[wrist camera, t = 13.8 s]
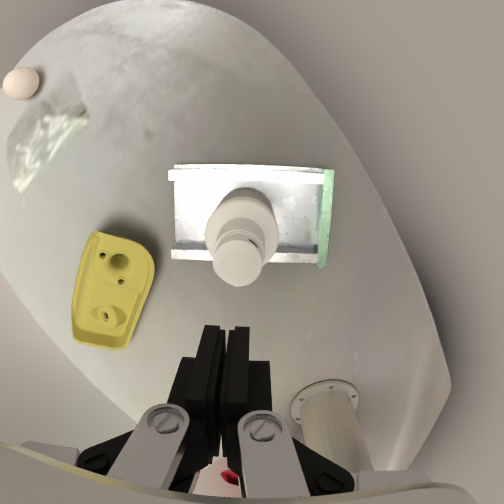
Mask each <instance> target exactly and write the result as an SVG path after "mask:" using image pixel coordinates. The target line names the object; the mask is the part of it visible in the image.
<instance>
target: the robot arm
mask: <svg viewBox="0 0 504 504" xmlns="http://www.w3.org/2000/svg"><path fill="white" fill-rule="evenodd" d="M249 333H250V327H238V326H235V330H229V336H228V343H227V350H226V340H225V330H220V326H215V325H205V326H204V330H203V333H202V337H201V340H200V344H199V347H198V351H197V355H196V358H192V357H182V359H181V362H180V365H179V368H178V371H177V374H176V377H175V380H174V383H173V386H172V389H171V392H170V395H169V398H168V401H167V403H166V404H158V405H155V406H153V407H151V408H149V409H148V410H147V411H146V412H145V413H144V414H143V416H142V418H141V419H140V421H139V423H138V424H137V426H136V428H135V429H134V430H132V431H130V432H127V433H125V434H123V435H120V436H118V437H115V438H113V439H110V440H108V441H106V442H103V443H101V444H98V445H95V446H93V447H90V448H88V449H86V450H84V451H83V452H82V451H79V450H78V449H77V448H71V447H63V446H56V445H50V444H44V443H38V442H30V441H29V442H25V443H22V444H21V445H20V446H17V445H13V444H9V443H2V442H0V504H477V502H476V501H475V499H474V498H473V496H472V495H471V494H470V493H469V492H468V491H467V490H465V489H464V488H462V487H460V486H457V485H453V484H448V483H439V482H431V480H430V478H429V477H428V475H427V474H425V473H424V472H421V471H419V470H401V471H374V470H373V466H372V463H371V460H370V457H369V454H368V450H367V447H366V444H365V441H364V438H363V435H362V432H361V429H360V426H359V423H358V420H357V417H356V414H355V410H356V408H357V406H358V403H359V396H358V393H357V391H356V389H355V388H354V387H353V386H352V385H350V384H349V383H346V382H343V381H336V380H334V381H324V382H320V383H316V384H314V385H311V386H309V387H307V388H305V389H304V390H302V391H301V392H300V393H299V394H298V395H297V396H296V397H295V398H294V400H293V402H292V404H291V415H292V418H293V420H294V421H295V422H296V423H298V424H299V425H301V426H302V432H303V438H304V444H302V443H300V442H299V441H297V440H296V439H294V438H293V437H291V434H290V431H289V428H288V424H287V423H286V421H285V419H284V418H283V417H282V416H280V415H279V414H277V413H275V412H272V396H271V379H270V363H269V361H249ZM221 437H222V450H223V457H227V464H228V468H230V469H231V470H232V471H233V472H234V473H235V474H237V475H238V481H239V487H240V494H241V498H230V497H216V496H204V495H196V494H193V491H194V489H195V486H196V483H197V480H198V477H199V473H200V470H201V469H203V468H205V467H206V466H208V464H212V459H213V456H217V457H218V456H219V449H220V440H221Z"/></svg>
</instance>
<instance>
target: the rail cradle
mask: <svg viewBox="0 0 504 504" xmlns="http://www.w3.org/2000/svg"><path fill="white" fill-rule="evenodd" d="M169 180H174V198H175V233H176V244H175V246H174V247H173V248H172V249H171V258H172V259H192V260H213V257H212V256H211V255H210V253H209V251H208V249H207V246H206V244H205V234H204V232H205V228H206V224H207V221H208V219H209V217H210V216H211V214H212V213H213V211H214V210H215V208H216V207H217V206H218V205H219V203H220V202H221V201H222V199H223V198H224V197H225V196H226V195H227V194H228V193H229V192H231V191H233V190H235V189H238V188H246V187H249V188H253V189H256V190H258V191H260V192H261V193H263V194H264V195H265V196H266V197H267V198H268V200H269V201H270V203H271V206H272V209H273V212H274V215H275V218H276V221H277V224H278V227H279V244H278V247H277V250H276V252H275V254H274V255H273V256H272V258H271V259H270V261H269V262H289V263H314V264H315V265H316V267H321V268H326V261H327V252H328V243H329V232H330V221H331V209H332V196H333V181H334V170H331V169H321V168H309V167H293V166H273V165H241V164H184V165H174V169H173V170H169Z"/></svg>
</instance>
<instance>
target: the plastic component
mask: <svg viewBox="0 0 504 504" xmlns="http://www.w3.org/2000/svg"><path fill="white" fill-rule="evenodd" d="M102 252H103V253H105V254H106V255H105V256H101V255H100V253H102ZM117 254H123V255H117ZM154 270H155V269H154V262H153V259H152V256H151V254H150V253H149V251H148V250H147V249H146V248H145V247H144V246H143V245H141V244H140V243H138V242H136V241H133V240H130V239H127V238H123V237H119V236H114V235H110V234H106V233H102V232H99V231H94V232H92V234H91V235H90V237H89V239H88V241H87V243H86V245H85V248H84V251H83V254H82V257H81V261H80V265H79V269H78V274H77V278H76V283H75V288H74V293H73V299H72V309H71V319H72V332H73V338H74V340H75V341H76V342H78V343H81V344H85V345H90V346H95V347H100V348H105V349H110V350H120V349H123V348H125V347H127V346H128V344H129V343H130V340H131V337H132V335H133V332H134V329H135V326H136V324H137V321H138V318H139V316H140V313H141V311H142V308H143V305H144V303H145V300H146V298H147V295H148V293H149V290H150V287H151V284H152V281H153V277H154ZM119 279H123V280H124V281H123V280H119ZM106 313H107V314H108V317H107V316H106Z"/></svg>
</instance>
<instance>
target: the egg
mask: <svg viewBox="0 0 504 504" xmlns="http://www.w3.org/2000/svg"><path fill="white" fill-rule="evenodd" d="M38 86H39V76H38V74H37V72H36V71H35V70H34V69H31V68H29V67H20V68H16V69H14V70H12V71H11V72H9V73H8V74H7V75H6V77H5V79H4V81H3V89H4V91H5V93H6V94H7V95H8V96H9V97H10V98H12V99H15V100H24V99H27V98H29V97H30V96H32V95H33V94H34V93H35V92H36V90H37V88H38Z"/></svg>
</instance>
